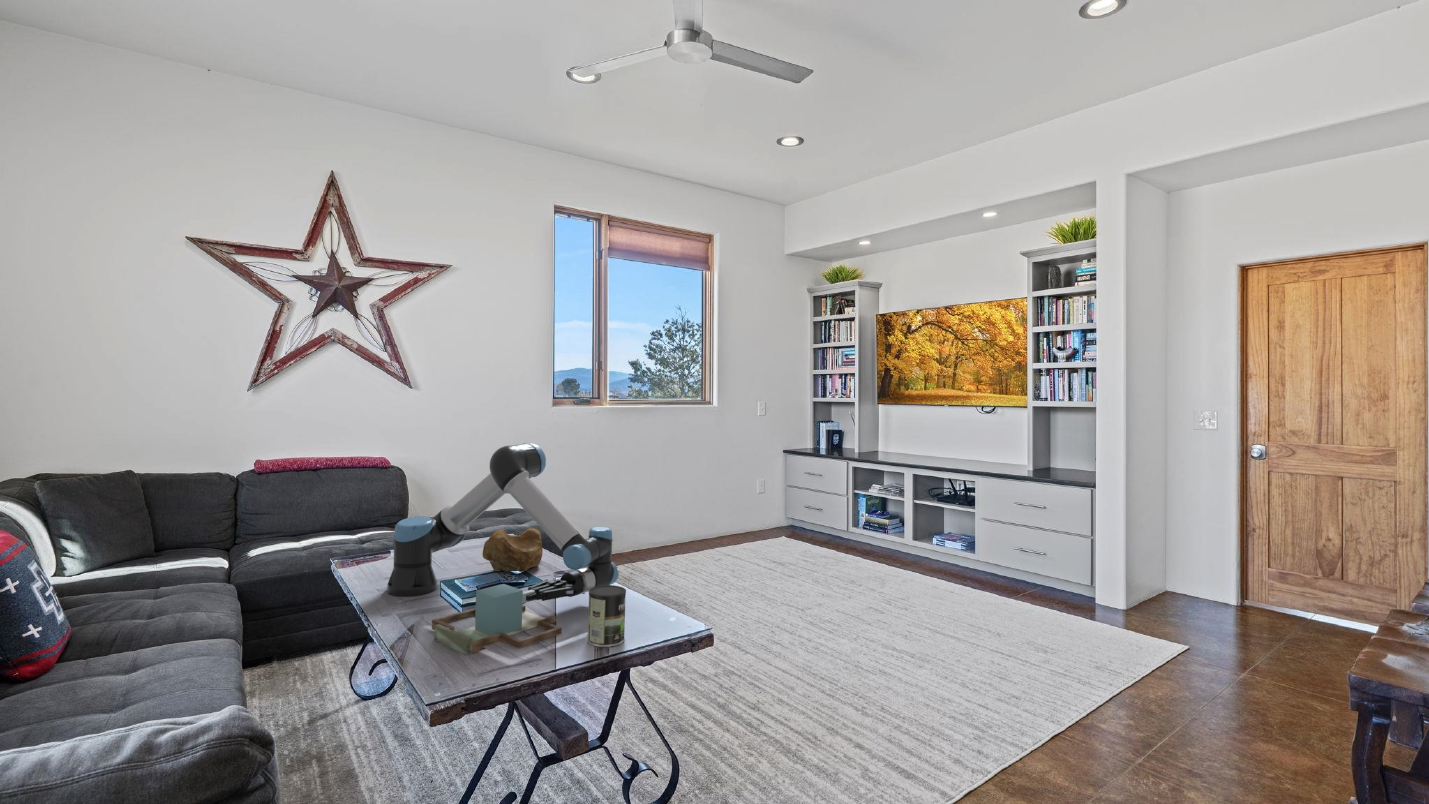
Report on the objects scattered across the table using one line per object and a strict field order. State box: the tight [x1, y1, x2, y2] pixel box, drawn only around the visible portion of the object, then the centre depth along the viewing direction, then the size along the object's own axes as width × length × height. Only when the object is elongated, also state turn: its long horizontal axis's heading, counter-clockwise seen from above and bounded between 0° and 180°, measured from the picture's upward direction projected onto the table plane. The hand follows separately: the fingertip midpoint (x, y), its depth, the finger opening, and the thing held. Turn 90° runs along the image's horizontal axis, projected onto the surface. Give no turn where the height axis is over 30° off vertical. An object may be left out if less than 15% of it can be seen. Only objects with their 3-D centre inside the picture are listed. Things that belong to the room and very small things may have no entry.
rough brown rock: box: [482, 527, 544, 572], centre depth 255 cm, size 23×17×15 cm
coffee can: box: [587, 584, 627, 648], centre depth 189 cm, size 10×10×14 cm
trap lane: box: [431, 604, 563, 656], centre depth 192 cm, size 29×31×4 cm
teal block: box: [474, 583, 524, 636], centre depth 192 cm, size 9×9×11 cm
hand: (514, 599), depth 195 cm, fingers closed
